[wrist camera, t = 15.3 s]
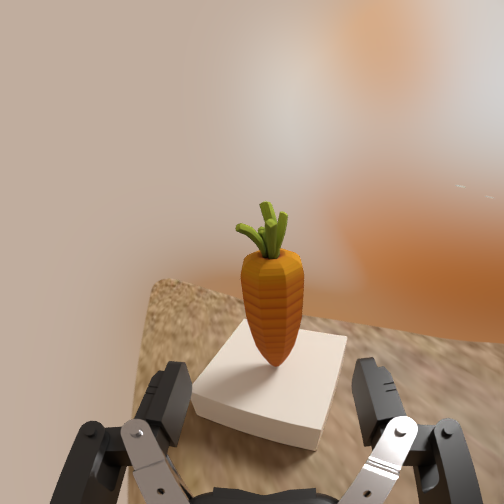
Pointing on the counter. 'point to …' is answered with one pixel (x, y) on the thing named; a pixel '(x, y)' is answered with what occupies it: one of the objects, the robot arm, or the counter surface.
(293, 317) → the carrot
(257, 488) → the counter surface
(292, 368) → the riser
